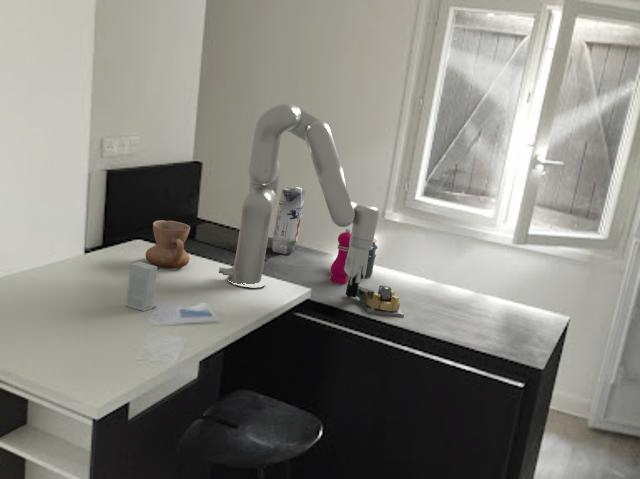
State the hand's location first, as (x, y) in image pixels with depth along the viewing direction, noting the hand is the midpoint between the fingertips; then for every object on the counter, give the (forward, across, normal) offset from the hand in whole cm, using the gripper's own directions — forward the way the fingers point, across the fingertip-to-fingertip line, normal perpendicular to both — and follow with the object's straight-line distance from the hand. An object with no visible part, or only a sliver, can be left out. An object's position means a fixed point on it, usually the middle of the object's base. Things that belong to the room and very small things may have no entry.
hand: (350, 296), depth 229 cm
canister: (+2, -38, +12) cm, 40 cm away
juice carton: (+2, -59, -14) cm, 60 cm away
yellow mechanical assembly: (+1, +1, +7) cm, 7 cm away
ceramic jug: (+2, -17, -60) cm, 62 cm away
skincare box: (+2, +26, -66) cm, 72 cm away
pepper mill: (+2, -23, +1) cm, 23 cm away
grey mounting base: (+2, +4, +10) cm, 11 cm away
